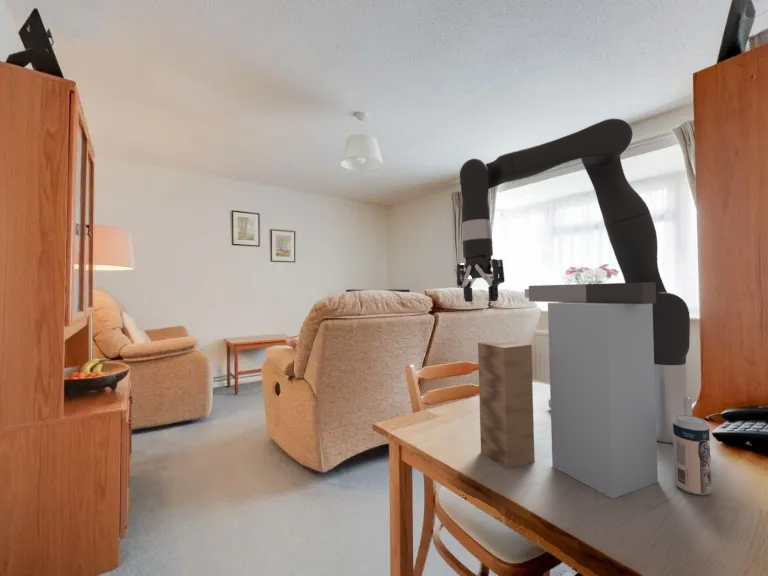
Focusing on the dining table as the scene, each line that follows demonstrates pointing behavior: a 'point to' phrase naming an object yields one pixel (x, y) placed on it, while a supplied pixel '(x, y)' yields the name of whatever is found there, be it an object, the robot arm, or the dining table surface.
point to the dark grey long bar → (595, 293)
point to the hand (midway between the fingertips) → (480, 301)
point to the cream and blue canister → (692, 454)
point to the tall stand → (603, 394)
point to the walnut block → (506, 402)
